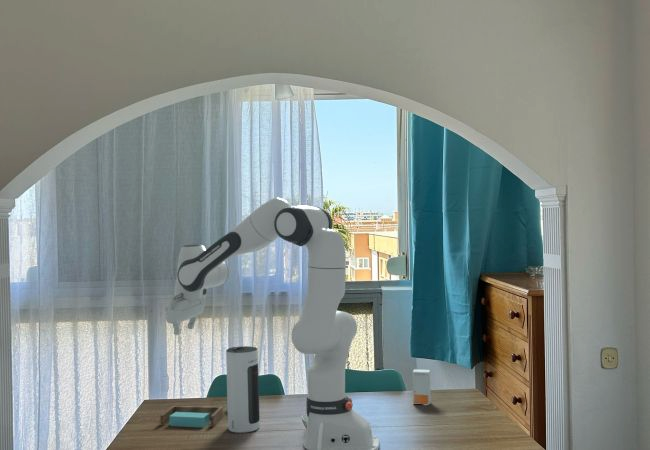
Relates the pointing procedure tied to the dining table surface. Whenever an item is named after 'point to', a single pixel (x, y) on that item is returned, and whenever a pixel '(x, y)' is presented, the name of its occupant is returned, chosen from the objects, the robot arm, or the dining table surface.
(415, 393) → the skincare box
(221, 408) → the walnut box
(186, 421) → the turquoise rectangular block
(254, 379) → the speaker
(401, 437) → the dining table surface
